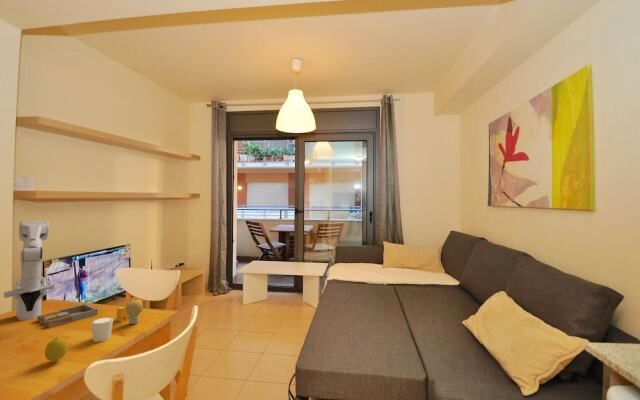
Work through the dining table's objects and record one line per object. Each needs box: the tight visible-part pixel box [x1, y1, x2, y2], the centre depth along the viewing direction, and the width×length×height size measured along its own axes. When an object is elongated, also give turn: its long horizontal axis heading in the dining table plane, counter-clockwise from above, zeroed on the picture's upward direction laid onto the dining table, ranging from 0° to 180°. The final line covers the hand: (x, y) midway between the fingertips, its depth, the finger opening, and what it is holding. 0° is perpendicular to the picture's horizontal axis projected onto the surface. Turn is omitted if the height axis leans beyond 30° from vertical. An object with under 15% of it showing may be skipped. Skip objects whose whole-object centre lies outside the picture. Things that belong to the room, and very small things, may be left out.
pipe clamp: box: [115, 299, 144, 324], centre depth 132 cm, size 12×4×6 cm, turn 171°
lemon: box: [44, 337, 68, 363], centre depth 95 cm, size 6×6×8 cm
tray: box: [59, 303, 98, 322], centre depth 131 cm, size 12×10×2 cm
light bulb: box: [125, 299, 144, 325], centre depth 126 cm, size 6×6×10 cm
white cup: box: [91, 316, 114, 343], centre depth 112 cm, size 7×7×7 cm
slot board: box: [36, 310, 96, 329], centre depth 127 cm, size 12×17×3 cm
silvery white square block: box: [55, 312, 69, 318], centre depth 125 cm, size 4×4×2 cm
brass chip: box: [43, 315, 58, 324], centre depth 122 cm, size 4×4×2 cm
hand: (29, 310), depth 116 cm, fingers closed
